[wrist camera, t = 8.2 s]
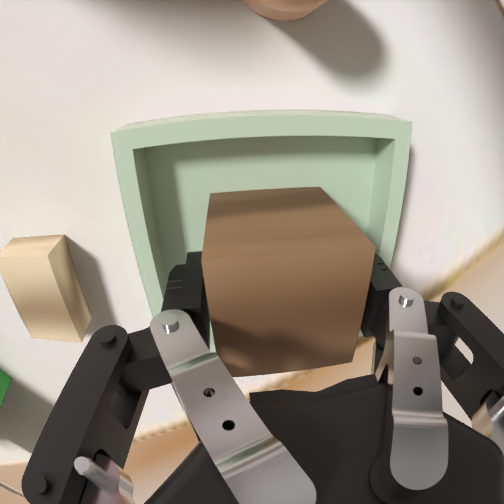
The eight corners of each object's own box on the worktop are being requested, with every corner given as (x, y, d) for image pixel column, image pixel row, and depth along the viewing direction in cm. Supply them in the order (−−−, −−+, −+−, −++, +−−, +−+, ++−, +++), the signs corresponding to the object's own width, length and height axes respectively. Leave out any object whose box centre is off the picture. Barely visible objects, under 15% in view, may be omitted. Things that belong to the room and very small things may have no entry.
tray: (127, 124, 12) (110, 132, 10) (386, 114, 13) (411, 122, 11) (169, 327, 18) (165, 355, 16) (359, 309, 19) (371, 334, 17)
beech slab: (15, 235, 14) (-6, 257, 12) (66, 231, 15) (47, 255, 13) (45, 312, 18) (31, 337, 15) (92, 314, 18) (81, 342, 16)
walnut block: (210, 193, 14) (201, 260, 8) (320, 186, 14) (375, 246, 9) (220, 286, 16) (220, 378, 11) (315, 278, 16) (351, 362, 11)
